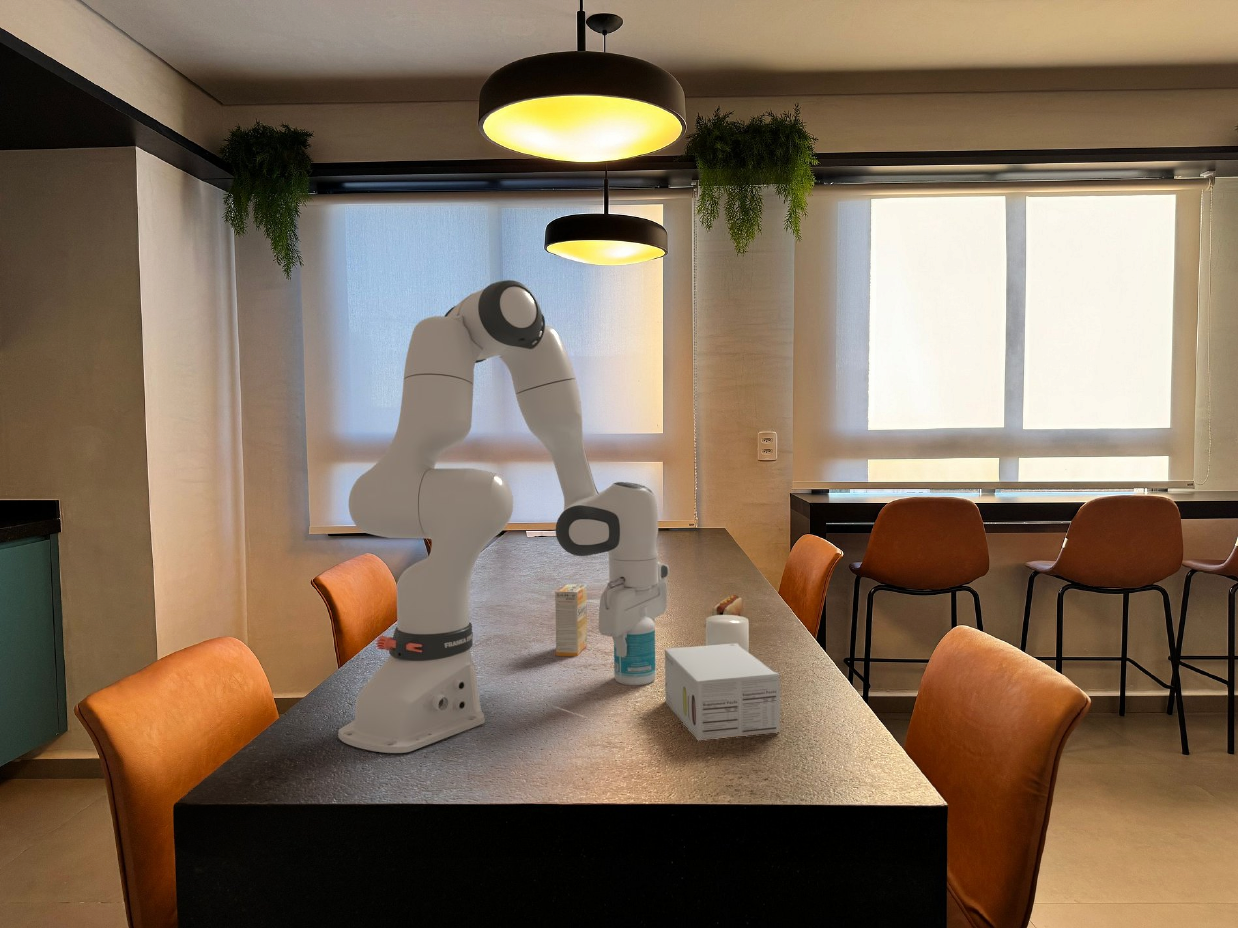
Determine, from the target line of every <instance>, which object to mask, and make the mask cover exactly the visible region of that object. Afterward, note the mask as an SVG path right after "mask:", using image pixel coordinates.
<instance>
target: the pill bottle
mask: <svg viewBox="0 0 1238 928" xmlns="http://www.w3.org/2000/svg"><path fill="white" fill-rule="evenodd" d="M646 614H647V606H644V607H642V608H640V609H639V615H640V616H641V618H640V621H639V622H638V623H637V624H636V626H635V628H634V629H632V630H630V631H628V632H627V637H626V638H625V640H626V644H627V645H629V654H628V655H627V656H625V657H619V656H617V654H616V645H615V643H614V642H613V671H614V672H613V674H614V679H615V681H616V682H617V683H619V684H620V685H626V686H644V685H648V684H651V683H652V682H654V681H655V679H656V677H657V676H656V673H657V672H656V671H657V670H656V628H655V627H656V623H655V621H654V622H653V620H652V619H650V618H649V617H646Z"/></svg>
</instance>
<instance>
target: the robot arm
mask: <svg viewBox="0 0 1238 928" xmlns="http://www.w3.org/2000/svg"><path fill="white" fill-rule="evenodd" d="M496 356H499V358H500V360H502V362H503V363H504V364H505V365H506V367H507V369H508V371H509V372H510V374H511V379H512V386H513V389H514V393H515V397H516V400H517V404H518V407H519V409H520V412H521V416H522V417H523V419H524V421H525V424H526V425H527V427H528V429H529V431H530V432H531V433H532V434H533V435H534V436H535V437H536V438H537V439H538V440H539V441H540V442H541V443H542V445H543V446H544V447H545V448H546V450H547V452H548V453H549V455H550V457H551V459H552V462H553V464H554V469H555V471H556V474H557V478H558V482H559V485H560V488H561V491H562V496H563V500H564V502H563V503H564V504H563V505H564V506H563V511H562V512H561V513H560V515H559V517H558V518H557V521H556V524H555V537H556V540H557V541H558V544H559V545H560V547H561V548H562V549H563V550H564V551H565V552H567V553H568V554H570V555H573V556H577V557H590V556H593V555H598V554H602V553H607V552H608V582H607V586H606V587H605V589H604V591H603V592H602V594H601V596H600V600H599V606H598V609H599V610H598V623H597V624H598V626H597V627H598V632H599V633H600V635H602V636H605V637H612V640H613V644H614V643H615V645H616V654H617V656H619V657H625V656H627V655H628V654H629V645H627V644H626V640H625V638H626V637H627V632H628V631H630V630H632V629H634V628H635V626H636V624H637V623H638V622H639V621H640V618H641V616H640V615H639V609H640V608H642V607H644V606H647V614H646V617H649V618H650V619H652V620H653V622H654V623H655V619H656V618H658V617H660V616H662V615H664V614H665V612H666V609H667V604H668V579H667V578H668V577H669V575H670V567H669V565H668V564H665V563H663V562H660V561H659V551H658V549H657V537H658V535H659V518H658V515H659V514H658V513H659V512H658V506H657V504H658V503H657V500H656V495H655V493H654V492H652V490H651V489H650V488H648V487H647V486H646V485H643V484H640V483H639V484H638V483H632V482H628V481H627V482H625V481H616V482H613V483H612V484H611V485H610V486H608V487H607V488H606V489H605V490H603V491H601V492H599V491H598V490H597V487H596V484H595V481H594V477H593V474H592V470H591V467H590V464H589V459H588V456H587V453H586V450H585V444H584V443H585V442H584V435H583V413H582V411H583V410H582V402H581V396H580V390H579V385H578V382H577V379H576V378H577V377H576V375H575V372H574V371H575V370H574V367H573V365H572V363H571V359H570V357H569V354H568V351H567V350H566V348H565V345H564V343H563V340H562V339H561V337H560V335H559V333H558V332H557V331H556V329H554V328H553V327H551V326H548V325H546V320H545V316H544V314H543V313H542V309H541V305H540V304H539V302H538V300H537V298H536V296H535V295H534V293H533V292H532V291H531V290H530V288H528V287H527V286H526V285H525V284H523V283H522V282H519V281H518V280H510V279H508V280H506V279H505V280H500V281H496V282H493V283H491V284H489V285H488V286H486V287H485V288H483V289H481V290H479V291H476V292H474V293H471V294H469V295H468V296H467V297H465V298H464V299H462V300H461V301H460V302H458V303H457V305H454V306H453V307H451V308H450V309H448V311H447V312H446V313H445V314H444V315H443V316H442V315H438V316H437V315H436V316H430V317H427V318H424V319H422V320H421V321H419V322H418V323H417V324H416V325H415V326H414V328H413V330H412V334H411V337H410V341H409V344H408V347H407V353H406V358H405V363H404V364H405V365H404V369H403V371H404V373H403V386H402V395H401V405H400V413H399V418H398V423H397V424H398V425H397V428H396V430H395V431H396V432H395V434H394V437H393V439H392V441H391V443H390V444H389V446H388V448H387V450H386V451H385V453H384V454H383V455H382V457H381V458H380V459H379V460H378V461H377V463H375V464H374V465H373V466H372V467H371V468H369V469H368V470H367V471H366V472H364V473H363V474H361V475H360V476H359V477H358V478H357V479H356V481H355V482H354V484H353V485H352V487H351V490H350V492H349V496H348V510H349V515H350V518H351V520H352V522H353V523H354V525H355V527H356V528H357V529H358V530H359V531H361V532H362V533H366V534H370V535H373V536H378V537H383V538H389V539H429V540H430V541H431V549H430V553H429V555H428V556H427V557H426V558H424V559H421V560H420V561H417V562H415V563H414V564H412V565H410V566H409V567H407V568H406V569H405V570H404V571H403V572H402V573H401V574H400V576H399V578H398V581H397V583H396V620H397V621H396V623H397V625H396V627H395V629H394V632H393V635H392V637H391V636H385V635H380V636H378V638H377V640H376V643H375V645H376V647H377V649H379V650H385V651H388V654H389V656H388V657H387V659H386V660H385V661H384V662H383V663H382V664H381V665H380V667H379V668H378V670H377V671H375V673H374V674H373V675H372V677H371V678H370V679H369V681H367V683H366V684H365V685H364V687H362V688H361V690H360V691H359V693H358V695H357V697H356V702H355V703H356V704H355V710H354V711H355V713H354V720H353V721H351V722H349V723H347V724H346V725H343V726H342V727H340V728H339V729H338V734H337V737H338V739H339V740H340V741H341V742H342V743H345V744H347V745H349V746H352V747H354V748H355V747H356V748H357V749H362V750H366V751H371V752H379V753H384V754H385V753H387V754H403V753H404V754H405V753H409V752H412V751H415V750H417V749H420V748H423V747H426V746H428V745H431V744H434V743H436V742H439V741H441V740H445V739H447V738H448V737H451V736H454V735H457V734H460V733H462V732H465V731H467V730H470V729H472V728H475V727H478V726H481V725H483V724H485V722H486V719H485V713H484V712H483V711H482V707H481V703H480V695H479V686H478V685H479V684H478V678H477V673H476V672H477V669H476V666H475V664H474V661H473V657H472V651H471V648H472V647H473V643H474V642H473V639H474V638H473V637H474V632H473V625H472V622H470V594H471V593H470V591H471V590H470V589H471V579H472V574H473V570H474V566H475V564H476V561H477V560H478V557H479V556H480V554H481V552H482V551H483V550H484V548H485V547H486V546H487V545H488V544H489V543H490V541H492V539H494V538H495V537H496V536H498V535H499V534H500V533H501V532H502V531H504V529H505V528H506V526H507V525H508V524H509V522H510V520H511V519H512V515H513V514H512V513H513V511H514V498H513V497H514V496H513V493H512V489H511V487H510V485H509V484H508V481H506V479H505V478H504V477H503V476H502V475H501V474H499V473H496V472H492V471H487V470H482V469H477V468H470V467H469V468H464V467H462V468H435V467H436V464H437V462H438V460H439V459H440V457H441V456H442V454H444V453H445V452H446V451H447V450H449V449H451V448H453V447H455V446H457V445H459V444H461V443H462V442H463V441H464V440H465V439H466V438H467V436H468V434H470V431H471V429H472V422H473V421H472V420H473V419H472V418H473V400H474V399H473V398H474V386H475V384H474V383H475V382H474V380H475V379H474V377H475V375H474V373H475V371H474V370H475V365H476V364H477V363H478V364H479V363H482V362H484V361H486V360H487V359H491V358H493V357H496Z"/></svg>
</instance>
